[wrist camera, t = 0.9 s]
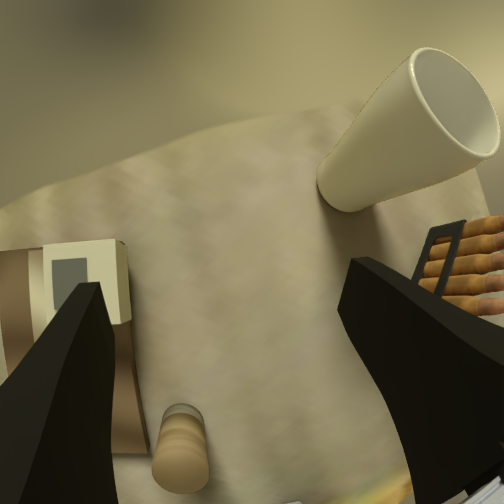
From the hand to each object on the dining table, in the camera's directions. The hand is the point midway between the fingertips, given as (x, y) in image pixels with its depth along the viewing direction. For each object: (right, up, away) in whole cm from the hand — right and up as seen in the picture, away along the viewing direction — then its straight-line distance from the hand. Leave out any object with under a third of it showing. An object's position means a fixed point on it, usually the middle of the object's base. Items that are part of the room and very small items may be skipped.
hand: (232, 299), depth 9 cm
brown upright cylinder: (-5, -12, +13) cm, 18 cm away
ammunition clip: (+16, -1, +18) cm, 24 cm away
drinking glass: (+8, +7, +18) cm, 21 cm away
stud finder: (-10, -1, +12) cm, 16 cm away
